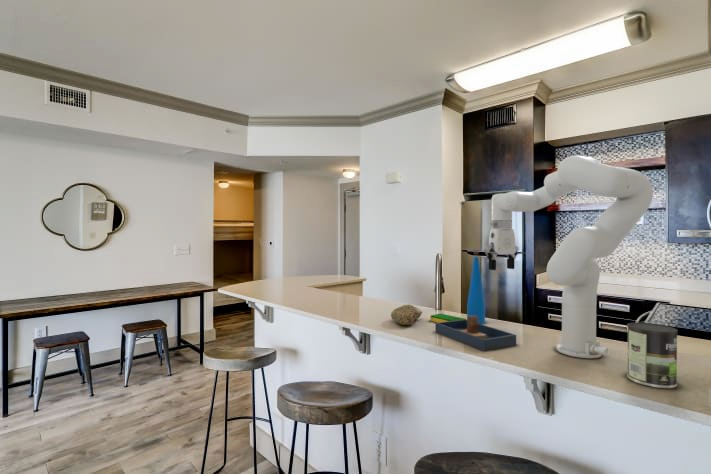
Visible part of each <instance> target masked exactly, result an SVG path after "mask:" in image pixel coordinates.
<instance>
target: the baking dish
mask: <svg viewBox="0 0 711 474" xmlns="http://www.w3.org/2000/svg"><path fill="white" fill-rule="evenodd" d="M465 319H466V318H464V319H463V320H455V321H448V322H440V323H437V322H435V333H436V334H438V335H441V336H444V337H447V338H449V339H452V340H455V341H457V342H460V343H462V344H465V345H467V346H469V347H472V348H476V349H478V350H481V351H484V352H487V351H492V350H497V349H503V348H508V347H514V346H517V334H514V333H511V332H508V331H505V330H501V329H498V328H495V327H491V326H488V325H485V324H479V323H478V332H480V333H483V334H486V335H487V339H482V338H479V337H476V336H474V335H471V334H468V333H465V332H462V331H459V330H466V329H467V319H466V320H465Z"/></svg>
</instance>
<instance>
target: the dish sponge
mask: <svg viewBox="0 0 711 474" xmlns="http://www.w3.org/2000/svg"><path fill="white" fill-rule="evenodd" d="M463 319H465V320H467V318H464V317H459V316H454V315H450V314H445V313H436V314H431V315H430V319H429V320H430V322H434V323H440V322H448V321H455V320H463Z"/></svg>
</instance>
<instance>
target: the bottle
mask: <svg viewBox="0 0 711 474" xmlns="http://www.w3.org/2000/svg"><path fill="white" fill-rule="evenodd" d="M479 253H480V251H473V255H479ZM470 315H475V316H478V323H479V324H482V325H484V324H485V323H486V304H485V297H484V288H483V283H482V273H481V268H480V260H479V257H478V256H474V257H473V263H472V270H471V277H470V283H469V289H468V297H467V304H466V317H467V316H470Z"/></svg>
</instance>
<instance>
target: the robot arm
mask: <svg viewBox="0 0 711 474" xmlns="http://www.w3.org/2000/svg"><path fill="white" fill-rule="evenodd" d="M580 189H581V190H584V191H586V192H589V193H592V194H595V195H598V196H601V197H606V198H616V199H615V201H614V202H613V203H612V204H611V205H610V206H608V207H607V208H606V209H605V210H604V211H603V212H602V214H601V215H600V216H599V218H598V219H597V220H596V221H595V223H594V224H593V225H591V226H580V227H577V228H575V229H573V230H571V231H570V232H569V233H568V234H567V235H566V236H565V238H564V239H563V241H562V242H561V243H560V245H559V246H558V247H557V248H556V250H555V252H554V253H553V254H552V256H551V257H550V259H549V260H548V262H547V265H546V276H547V278H548V279H549V281H550V282H551V283H553V284H554V285H557V286H562V287H563V289H562V294H561V343H558V344H557V345H555V346H556V347H555V349H556V351H557V352H558V353H561V354H563V355H566V356H569V357H573V358H579V359H599V358H601V357H603V356H607V355H608V352H609V348H608V347H605V346H601V342H600V340H597V301H598V287H599V281H600V276H601V268H600V265H599V263H598V261H597V260H596V259H601V258H602V259H603V258H606V257H609V256H611V255H612V254H613V253H614V252H615V251H616V249H618V247H619V246H620V244H621V243H622V242H623V241H624V240H625V238H626V237H627V235H629V233H630V232H631V231H632V229H633V228H634V227H635V225H636V224H637V223H638V222H639V221H640V220H641V218H643V216H644V215H645V213H646V212H647V211H648V210H649V208H650V206H651V204H652V201H653V198H654V197H653V196H654V190H653V186H652V183H651V181H650V180H649V178H648V177H647V176H646V174H644V173H642V172H641V171H639V170H636V169H632V168H627V167H620V166H613V165H609V164H605V163H602V162H600V161H599V160H598V159H596V158H594V157H590V156H583V155H570V156H567V157H565V158H564V159H563V160H561V161H560V162H559V164H558V166H557V170H555V171H553V172H551V173H549V174H546V176H545V177H544V180H543V186H542V187H539V188H537V189H535V190H533V191H521V190H520V191H518V190H512V191H508V192H505V193H495V194H492V197H491V222H490V226H491V229H490V231H489V238H488V245H486V246H485V247H483V251H484V253H485V254H484V255H485V257H486V259H487V260H488V270H489V271H496V270H497V259H496V258H497V256H498V255H499V256H500V255H501V256H503V255H504V256H506V257H507V258H506V269H508V270H514V269H515V260H516V258H517V256H518V253H519V249H520V247H518V245H516V243H517V242H516V236H515V230H514V228H513V212H515V213H517V212H518V213H520V212H521V213H533V212H536V211H538V210H542V209H544V208H546V207H548V206H550V205H553V204H554V203H555V202H556V201H557V200H558V199H559V198H561V197H563V196H566V195H568V194H570V193H573V192H575V191H578V190H580Z"/></svg>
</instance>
